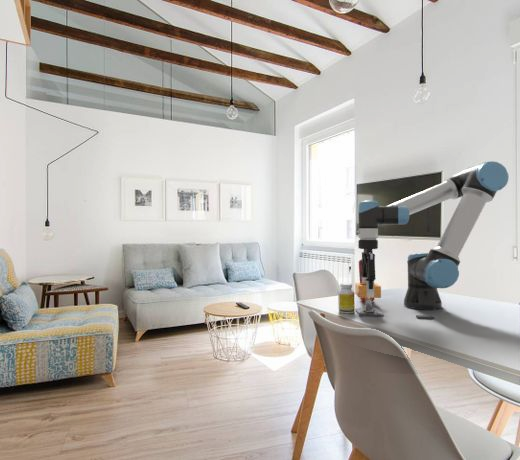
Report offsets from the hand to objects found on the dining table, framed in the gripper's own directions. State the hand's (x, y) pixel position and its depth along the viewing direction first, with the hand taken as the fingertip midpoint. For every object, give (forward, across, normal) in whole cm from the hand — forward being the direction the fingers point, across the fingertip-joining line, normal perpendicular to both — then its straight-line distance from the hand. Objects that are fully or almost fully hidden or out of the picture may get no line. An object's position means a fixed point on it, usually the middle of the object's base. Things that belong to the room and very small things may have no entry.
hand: (367, 295), depth 144 cm
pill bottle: (+8, -2, -8) cm, 11 cm away
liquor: (+7, -24, +4) cm, 26 cm away
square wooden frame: (0, 0, 0) cm, 0 cm away
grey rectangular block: (+7, +7, +20) cm, 22 cm away
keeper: (+7, 0, 0) cm, 7 cm away
